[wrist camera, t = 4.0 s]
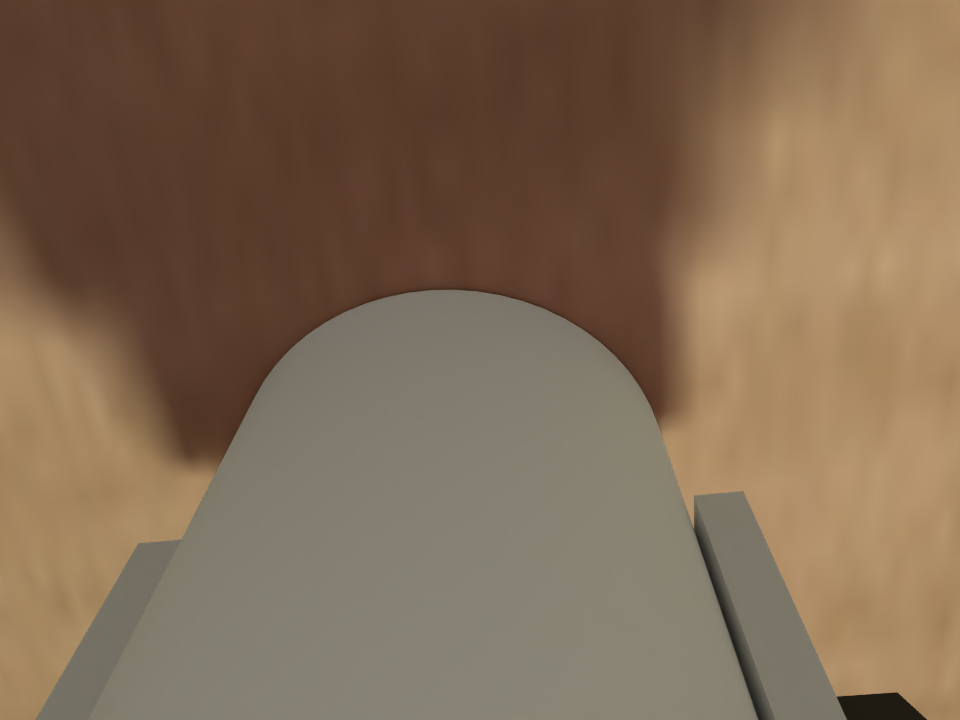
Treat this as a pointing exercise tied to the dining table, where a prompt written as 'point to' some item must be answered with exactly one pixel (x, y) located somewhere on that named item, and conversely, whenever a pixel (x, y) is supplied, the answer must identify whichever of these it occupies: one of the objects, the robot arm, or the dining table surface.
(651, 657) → the cup
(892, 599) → the dining table surface
